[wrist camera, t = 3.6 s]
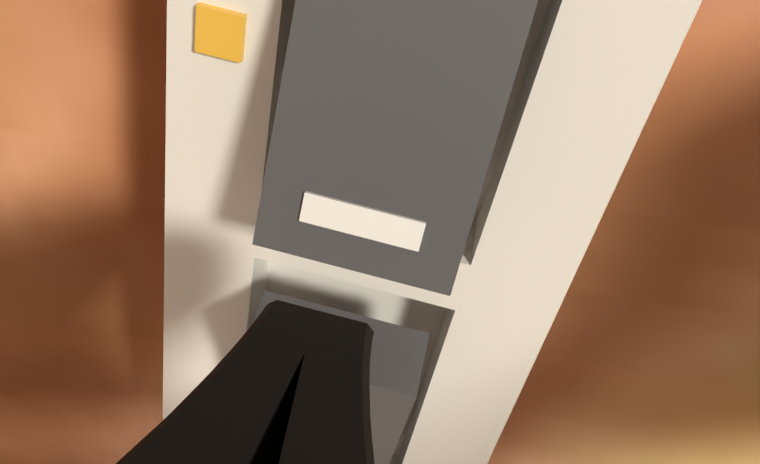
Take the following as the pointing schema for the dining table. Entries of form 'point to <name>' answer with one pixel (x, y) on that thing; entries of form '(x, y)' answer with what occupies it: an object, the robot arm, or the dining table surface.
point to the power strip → (489, 226)
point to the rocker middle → (388, 132)
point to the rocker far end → (381, 373)
